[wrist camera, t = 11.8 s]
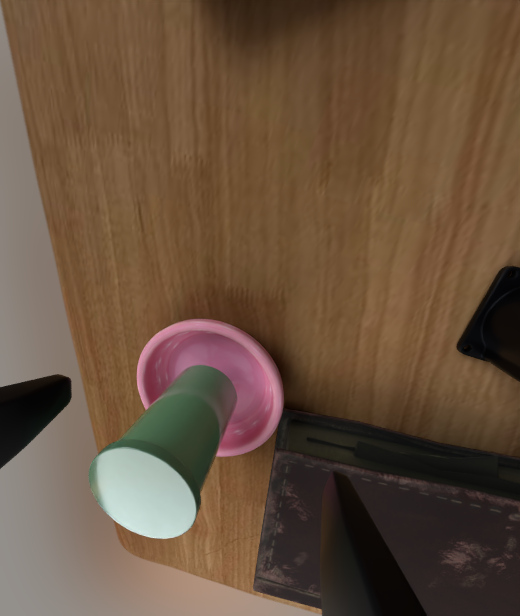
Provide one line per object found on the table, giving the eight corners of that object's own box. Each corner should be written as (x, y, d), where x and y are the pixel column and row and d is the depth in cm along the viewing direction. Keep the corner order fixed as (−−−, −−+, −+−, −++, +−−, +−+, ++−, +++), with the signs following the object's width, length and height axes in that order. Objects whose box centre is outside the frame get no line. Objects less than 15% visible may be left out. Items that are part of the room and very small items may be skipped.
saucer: (207, 447, 25) (193, 476, 22) (131, 351, 23) (106, 368, 20) (313, 400, 21) (314, 427, 18) (232, 282, 20) (219, 290, 16)
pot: (231, 433, 20) (186, 554, 12) (168, 410, 20) (86, 512, 13) (248, 375, 18) (207, 475, 10) (177, 351, 18) (89, 430, 11)
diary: (509, 608, 24) (561, 701, 19) (260, 536, 27) (251, 600, 22) (610, 464, 18) (719, 544, 13) (282, 397, 22) (276, 442, 17)
